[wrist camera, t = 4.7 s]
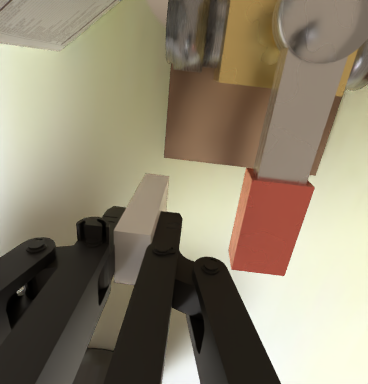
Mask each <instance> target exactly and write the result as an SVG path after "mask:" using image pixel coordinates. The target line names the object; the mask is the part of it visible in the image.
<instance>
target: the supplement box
mask: <svg viewBox="0 0 368 384" xmlns="http://www.w3.org/2000/svg"><path fill="white" fill-rule="evenodd" d="M120 1H121V0H0V43H2V44H9V45H16V46H23V47H31V48H38V49H45V50H51V51H61V50H62V49H63V48H65V47H66V46H67V45H68V44H70V43H71V42H72V41H73V40H74V39H76V38H77V37H78V36H79V35H81V34H82V33H83V32H84V31H85V30H87V29H88V28H89V27H90V26H91V25H92V24H94V23H95V22H96V21H97V20H98V19H100V18H101V17H102V16H103V15H104V14H106V13H107V12H108V11H109V10H110V9H112V8H113V7H114V6H115V5H117V4H118V3H119V2H120Z"/></svg>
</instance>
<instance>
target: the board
mask: <svg viewBox="0 0 368 384" xmlns="http://www.w3.org/2000/svg"><path fill="white" fill-rule="evenodd" d="M214 70H215V68H209V67H202V73H199V72H190V71H182V70H174V68H173V63H171V71H170V84H169V98H168V111H167V124H166V137H165V150H164V158H172V159H181V160H189V161H198V162H206V163H214V164H223V165H231V166H240V167H248V168H253V167H254V163H255V158H256V154H257V150H258V145H259V141H260V136H261V132H262V128H263V123H264V119H265V115H266V110H267V106H268V101H269V97H270V93H271V88H263V87H254V86H245V85H237V84H228V83H220V82H217V81H215V80H213V77H214ZM341 98H342V97H340V96H335V98H334V101H333V104H332V107H331V110H330V113H329V116H328V119H327V122H326V125H325V128H324V131H323V134H322V137H321V141H320V144H319V147H318V150H317V153H316V156H315V159H314V162H313V165H312V168H311V171H310V174H309V175H316V172H317V169H318V166H319V163H320V161H321V158H322V155H323V152H324V149H325V146H326V143H327V140H328V137H329V134H330V131H331V128H332V125H333V122H334V119H335V116H336V113H337V110H338V107H339V104H340V101H341Z"/></svg>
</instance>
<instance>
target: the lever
mask: <svg viewBox="0 0 368 384" xmlns="http://www.w3.org/2000/svg"><path fill="white" fill-rule="evenodd" d="M272 33H273V38H274V41H275V44H276V46H277V47H278V49H279V51H280V53H279V58H278V62H277V66H276V71H275V75H274V80H273V84H272V88H271V93H270V97H269V101H268V106H267V110H266V115H265V119H264V123H263V128H262V132H261V136H260V141H259V145H258V150H257V154H256V158H255V163H254V167H253V168H246V171H245V176H244V180H243V185H242V190H241V194H240V199H239V204H238V208H237V213H236V217H235V222H234V227H233V231H232V236H231V240H230V245H229V257H230V263H231V270H239V271H247V272H255V273H264V274H272V275H280V276H284V275H285V272H286V270H287V267H288V264H289V261H290V258H291V255H292V252H293V249H294V246H295V243H296V240H297V238H298V235H299V232H300V229H301V226H302V223H303V220H304V217H305V214H306V211H307V209H308V206H309V203H310V200H311V197H312V194H313V191H314V188H315V187H314V186H313V185H312V184H311V183H310V182H309V181H308V177H309V174H310V171H311V168H312V165H313V162H314V159H315V156H316V153H317V150H318V147H319V144H320V141H321V137H322V134H323V131H324V128H325V125H326V122H327V119H328V116H329V113H330V110H331V107H332V104H333V101H334V98H335V95H336V92H337V89H338V86H339V82H340V79H341V76H342V73H343V70H344V67H345V64H346V61H347V58H348V56H349V55H350V54H352V53H353V52H355V51H356V50H357V49H358V48H359V47H361V45H362V44H363V43H364V42H365V41H366V40H367V39H368V0H277V2H276V5H275V8H274V12H273V17H272Z"/></svg>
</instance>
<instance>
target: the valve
mask: <svg viewBox="0 0 368 384" xmlns="http://www.w3.org/2000/svg"><path fill="white" fill-rule="evenodd" d="M276 2H277V0H169V2H168V11H167V24H166V58H167V62H168V63H173V68H174V70H182V71H190V72H199V73H202V67H209V68H215V70H214V77H213V80H215V81H217V82H220V83H228V84H237V85H245V86H254V87H263V88H272V84H273V80H274V75H275V71H276V66H277V62H278V58H279V53H280V51H279V49H278V47H277V46H276V44H275V41H274V38H273V33H272V17H273V12H274V8H275V5H276ZM367 84H368V39H367V40H366V41H365V42H364V43H363V44H362V45H361V47H359V48H358V49H357V50H356V51H355V52H353V53H352V54H350V55H349V56H348V58H347V61H346V64H345V67H344V70H343V73H342V76H341V79H340V82H339V86H338V89H337V92H336V95H335V96H340V97H342V96H343V93H344V90H345V89H346V90H359V89H361V88H363V87H364V86H366V85H367Z"/></svg>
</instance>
